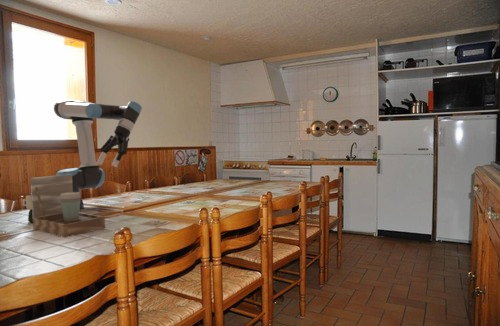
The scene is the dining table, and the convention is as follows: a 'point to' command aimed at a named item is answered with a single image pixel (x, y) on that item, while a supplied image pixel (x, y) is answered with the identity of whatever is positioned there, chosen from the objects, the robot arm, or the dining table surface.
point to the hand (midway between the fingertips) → (106, 165)
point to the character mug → (28, 207)
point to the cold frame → (58, 208)
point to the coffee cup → (70, 205)
